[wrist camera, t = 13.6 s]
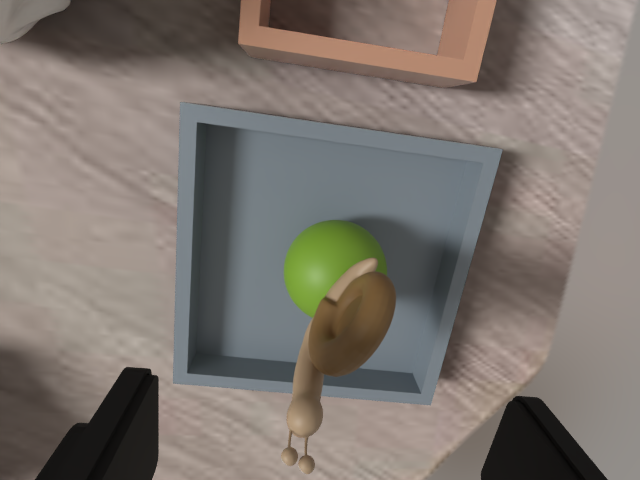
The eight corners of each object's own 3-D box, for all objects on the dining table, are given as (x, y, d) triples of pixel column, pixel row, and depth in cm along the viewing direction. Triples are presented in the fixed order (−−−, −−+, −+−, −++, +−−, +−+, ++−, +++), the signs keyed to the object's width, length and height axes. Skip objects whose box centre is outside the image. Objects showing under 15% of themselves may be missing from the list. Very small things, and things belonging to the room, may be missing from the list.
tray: (195, 103, 20) (180, 102, 18) (478, 145, 22) (502, 149, 19) (186, 355, 25) (173, 383, 23) (417, 376, 27) (430, 405, 24)
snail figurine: (259, 278, 23) (218, 438, 12) (319, 191, 21) (339, 277, 10) (333, 320, 24) (361, 505, 13) (394, 241, 23) (488, 369, 11)
